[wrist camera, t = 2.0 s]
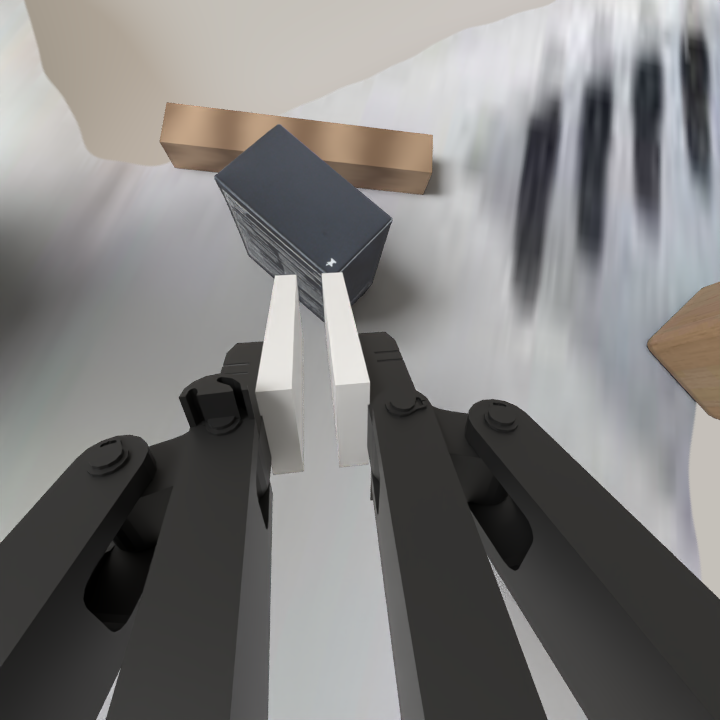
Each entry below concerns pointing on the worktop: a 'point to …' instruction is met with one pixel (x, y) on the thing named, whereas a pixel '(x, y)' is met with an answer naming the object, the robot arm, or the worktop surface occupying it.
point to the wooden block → (694, 348)
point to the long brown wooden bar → (327, 140)
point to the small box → (303, 217)
